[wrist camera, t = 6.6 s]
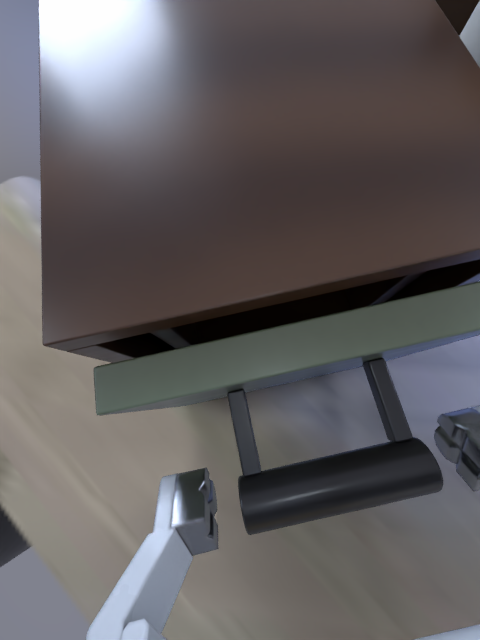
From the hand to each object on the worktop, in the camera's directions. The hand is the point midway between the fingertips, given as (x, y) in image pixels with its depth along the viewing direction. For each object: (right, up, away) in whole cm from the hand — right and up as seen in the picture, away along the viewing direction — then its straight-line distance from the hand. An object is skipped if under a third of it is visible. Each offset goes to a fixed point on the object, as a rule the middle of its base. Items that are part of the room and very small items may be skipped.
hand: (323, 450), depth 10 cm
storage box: (-2, +9, +9) cm, 13 cm away
